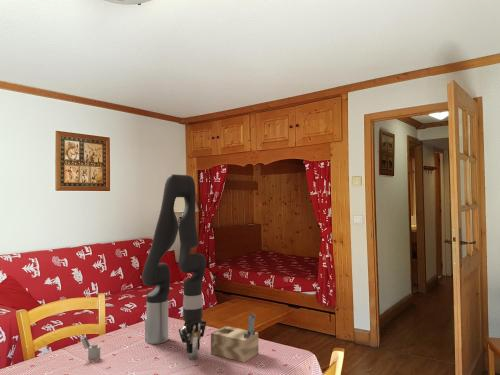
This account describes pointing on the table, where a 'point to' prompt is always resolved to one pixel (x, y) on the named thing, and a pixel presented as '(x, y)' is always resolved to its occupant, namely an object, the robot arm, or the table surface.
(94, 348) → the lighter
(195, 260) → the robot arm
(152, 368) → the table surface
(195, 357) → the pin
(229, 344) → the block
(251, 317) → the grey handle
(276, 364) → the table surface
